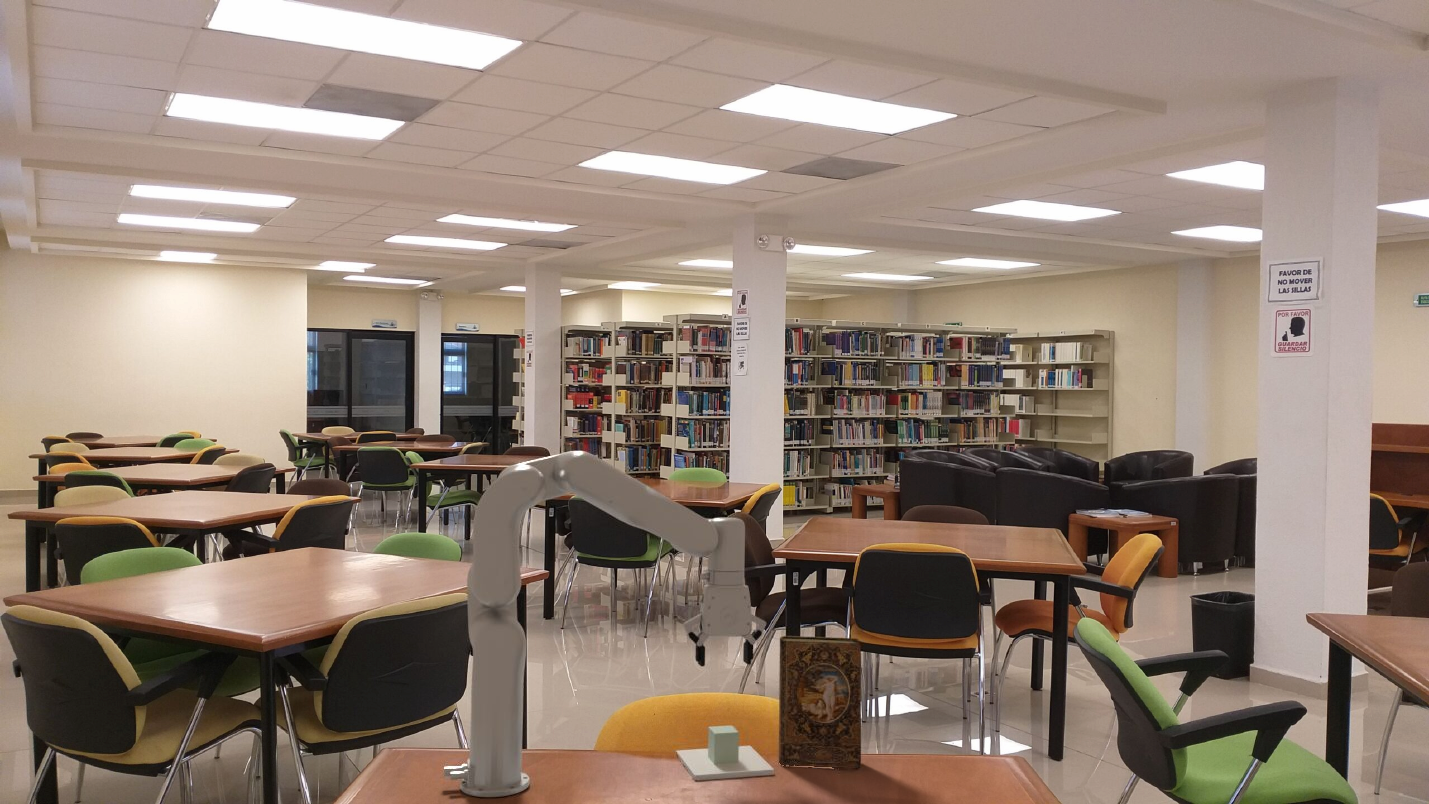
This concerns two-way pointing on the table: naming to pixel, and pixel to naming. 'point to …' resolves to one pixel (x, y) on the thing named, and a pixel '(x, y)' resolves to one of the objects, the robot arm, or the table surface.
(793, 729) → the book
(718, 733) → the block
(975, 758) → the table surface
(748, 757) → the pale board
